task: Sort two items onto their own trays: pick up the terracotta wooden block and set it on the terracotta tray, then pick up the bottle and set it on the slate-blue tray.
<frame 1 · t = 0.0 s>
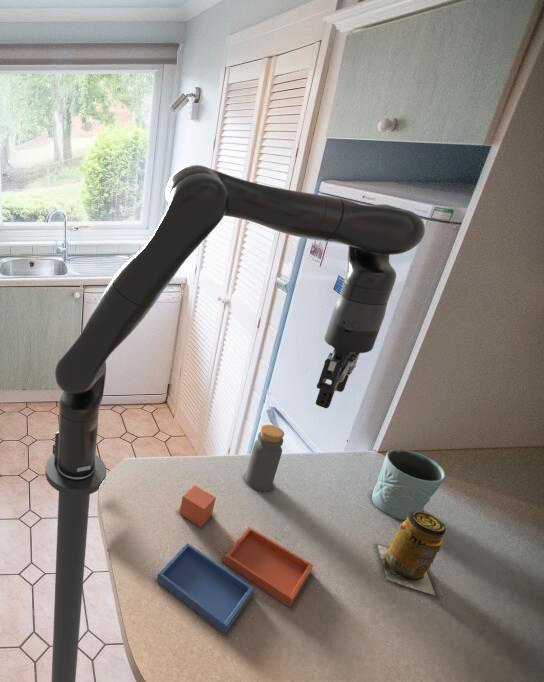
hand: (329, 397, 88), 29 cm above the countertop, tool pointing down, fingers open, 8 cm apart
bottle: (257, 482, 107), on the countertop
blue tray: (203, 588, 83), on the countertop
block: (195, 514, 98), on the countertop
light teal planter pot: (395, 507, 101), on the countertop
condiment: (403, 570, 86), on the countertop
terracotta tray: (266, 567, 87), on the countertop
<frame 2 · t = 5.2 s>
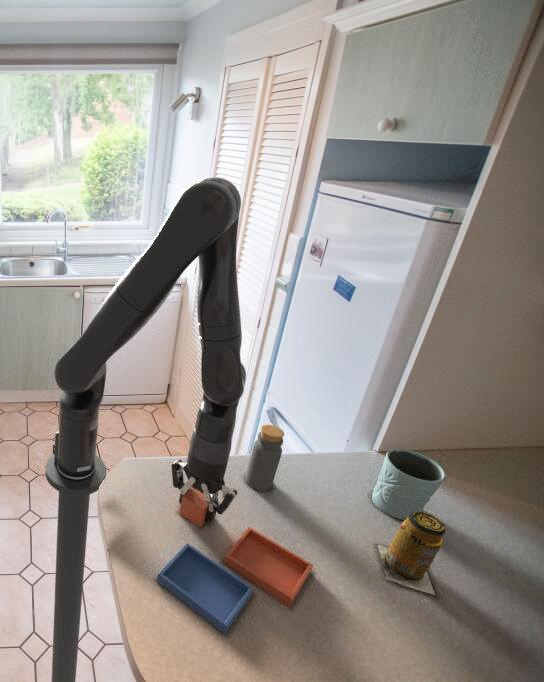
hand: (195, 512, 98), 0 cm above the countertop, tool pointing down, fingers closed on block, 5 cm apart
block: (195, 514, 98), on the countertop, touching gripper
everything else where it was.
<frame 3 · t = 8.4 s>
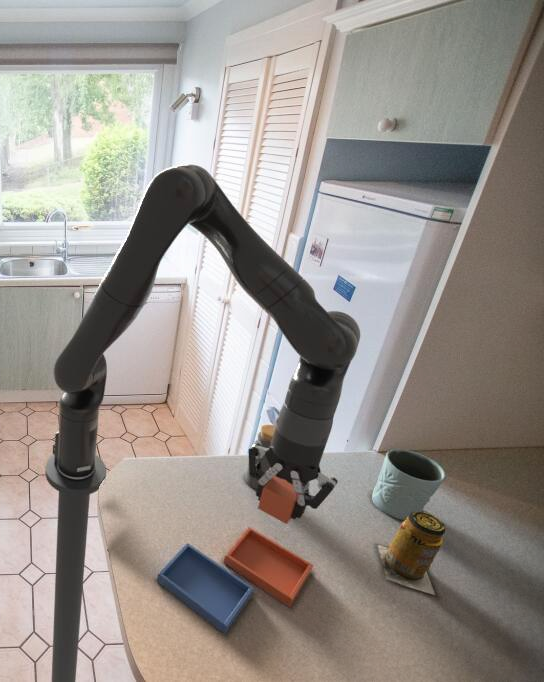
hand: (277, 507, 81), 14 cm above the countertop, tool pointing down, fingers closed on block, 5 cm apart
block: (277, 508, 82), point 14 cm above the countertop, touching gripper
everything else where it was.
when the fingers open (1 cm above the countertop, at t = 11.9 s): block stays where it is, resting on terracotta tray.
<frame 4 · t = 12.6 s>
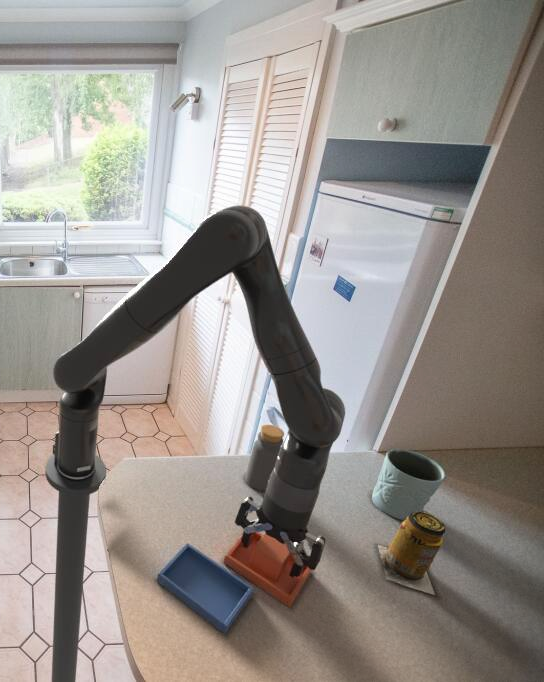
hand: (268, 559, 86), 2 cm above the countertop, tool pointing down, fingers open, 8 cm apart
block: (267, 565, 86), resting on terracotta tray
everything else where it was.
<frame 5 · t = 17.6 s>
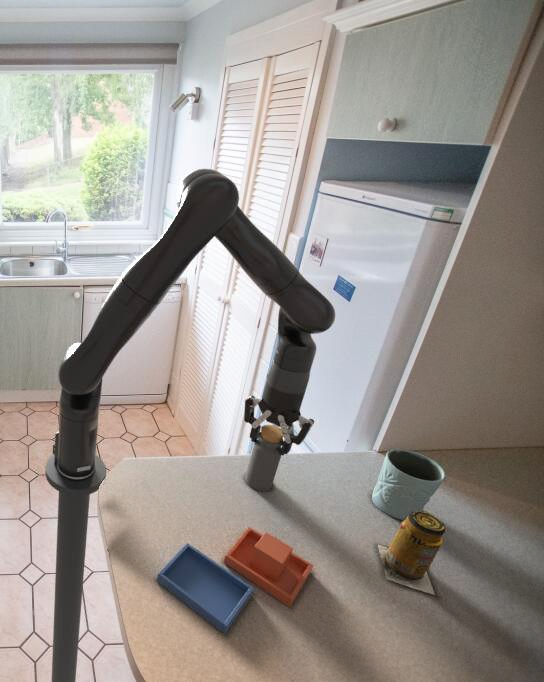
hand: (268, 446, 103), 11 cm above the countertop, tool pointing down, fingers closed on bottle, 5 cm apart
bottle: (257, 482, 107), on the countertop, touching gripper
everything else where it was.
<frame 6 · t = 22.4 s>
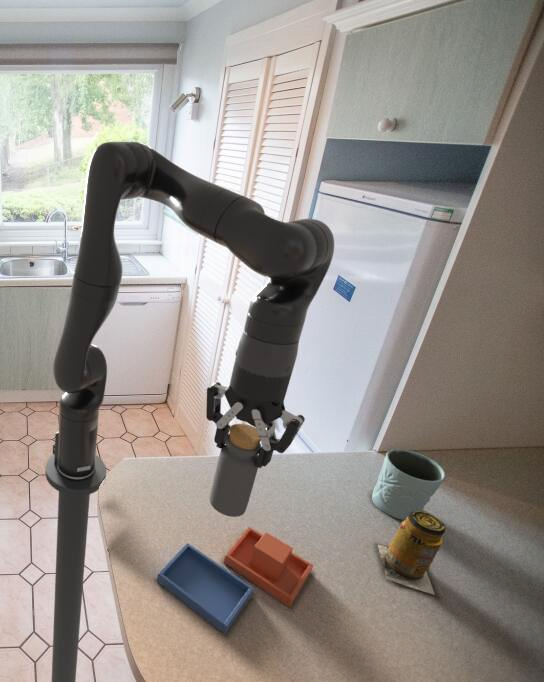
hand: (240, 454, 72), 29 cm above the countertop, tool pointing down, fingers closed on bottle, 5 cm apart
bottle: (227, 504, 77), point 18 cm above the countertop, touching gripper
everything else where it was.
when the fingers open (11 cm above the countertop, at t = 27.0 s): bottle stays where it is, resting on blue tray.
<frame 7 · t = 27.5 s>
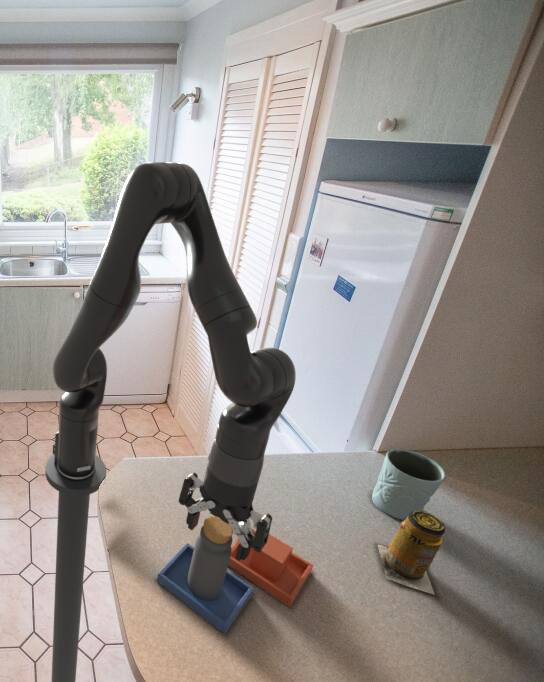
hand: (215, 541, 77), 12 cm above the countertop, tool pointing down, fingers open, 8 cm apart
bottle: (203, 586, 83), resting on blue tray
everything else where it was.
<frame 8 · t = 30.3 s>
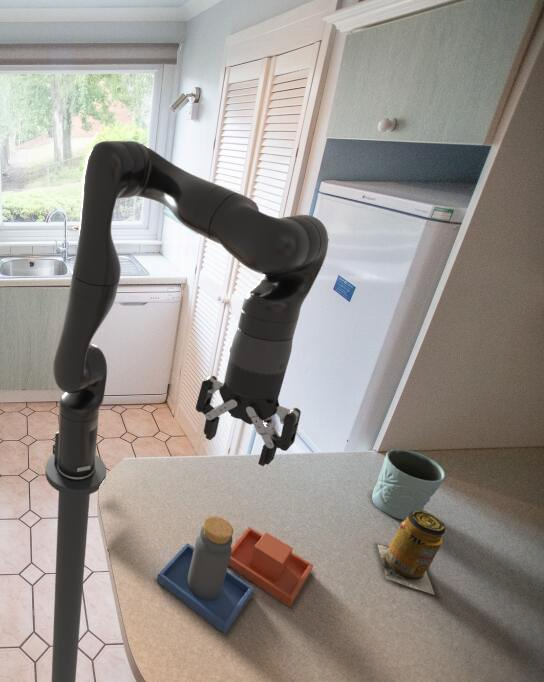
hand: (235, 449, 72), 30 cm above the countertop, tool pointing down, fingers open, 8 cm apart
nothing on the countertop moved.
at the end: block inside the target area in the terracotta tray (0.1 cm from its centre), point 0.5 cm above the terracotta tray's base; bottle inside the target area in the blue tray (0.1 cm from its centre), point 0.3 cm above the blue tray's base; bottle tilted 0° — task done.
